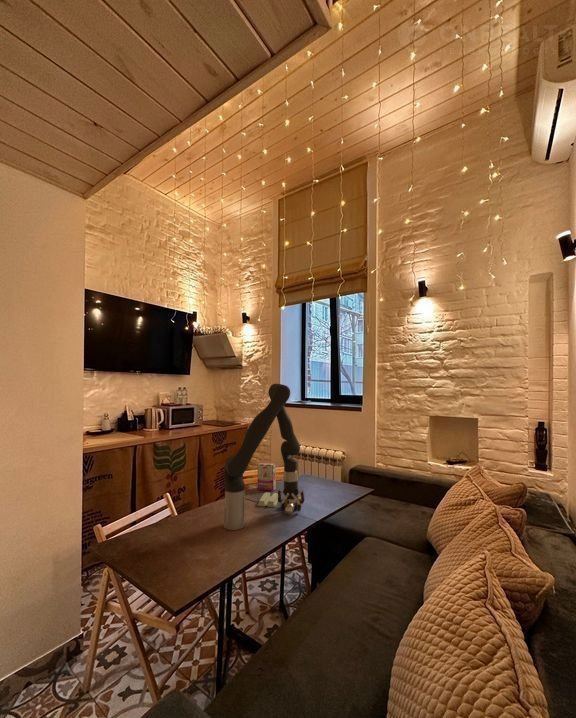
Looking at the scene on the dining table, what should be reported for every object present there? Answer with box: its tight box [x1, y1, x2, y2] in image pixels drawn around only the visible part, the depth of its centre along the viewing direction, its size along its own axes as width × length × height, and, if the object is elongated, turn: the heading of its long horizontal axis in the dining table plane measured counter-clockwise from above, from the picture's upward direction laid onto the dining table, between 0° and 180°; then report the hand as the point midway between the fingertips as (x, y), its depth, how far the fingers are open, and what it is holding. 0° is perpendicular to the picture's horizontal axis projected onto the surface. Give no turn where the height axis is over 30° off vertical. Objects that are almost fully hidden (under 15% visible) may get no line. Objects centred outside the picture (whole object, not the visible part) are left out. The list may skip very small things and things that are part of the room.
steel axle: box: [284, 500, 297, 516], centre depth 179 cm, size 14×4×4 cm, turn 168°
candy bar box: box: [256, 462, 277, 492], centre depth 214 cm, size 11×5×16 cm, turn 73°
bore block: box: [284, 495, 305, 510], centre depth 188 cm, size 9×16×6 cm, turn 170°
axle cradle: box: [257, 492, 279, 508], centre depth 190 cm, size 10×14×3 cm
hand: (291, 510), depth 174 cm, fingers open, 7 cm apart
